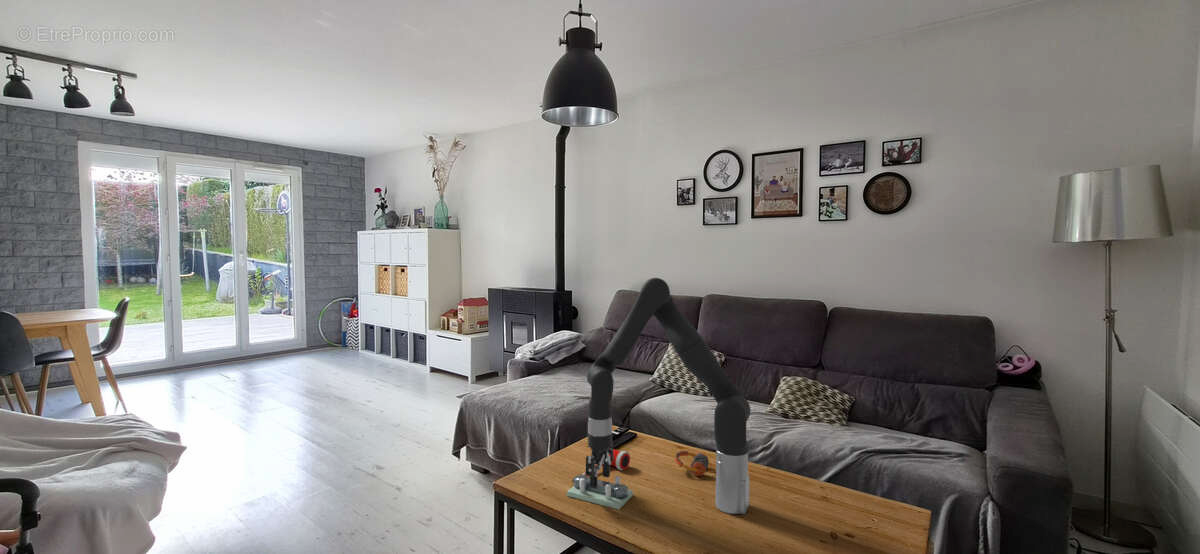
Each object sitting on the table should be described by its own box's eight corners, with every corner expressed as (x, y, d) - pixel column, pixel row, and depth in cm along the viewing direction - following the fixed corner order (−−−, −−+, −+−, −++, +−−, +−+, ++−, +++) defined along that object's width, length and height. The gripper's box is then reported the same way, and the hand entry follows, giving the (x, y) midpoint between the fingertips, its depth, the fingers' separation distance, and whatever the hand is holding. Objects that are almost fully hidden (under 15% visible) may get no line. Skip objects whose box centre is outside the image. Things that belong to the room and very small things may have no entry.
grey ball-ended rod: (571, 487, 162) (571, 479, 162) (578, 481, 166) (578, 474, 166) (623, 500, 154) (624, 492, 154) (630, 494, 158) (630, 486, 158)
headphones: (733, 473, 182) (679, 453, 188) (737, 459, 181) (682, 440, 188) (727, 495, 166) (668, 472, 173) (732, 480, 166) (672, 457, 172)
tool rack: (632, 495, 160) (632, 477, 160) (619, 509, 152) (619, 491, 151) (582, 483, 169) (582, 466, 169) (567, 496, 160) (566, 478, 160)
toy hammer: (587, 490, 165) (587, 470, 164) (561, 479, 172) (561, 461, 172) (630, 467, 182) (630, 449, 182) (605, 458, 190) (605, 441, 189)
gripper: (599, 422, 167) (599, 471, 168) (578, 436, 155) (578, 489, 155) (620, 425, 164) (620, 475, 164) (600, 440, 151) (600, 494, 152)
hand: (600, 482), depth 160 cm, fingers open, 8 cm apart
